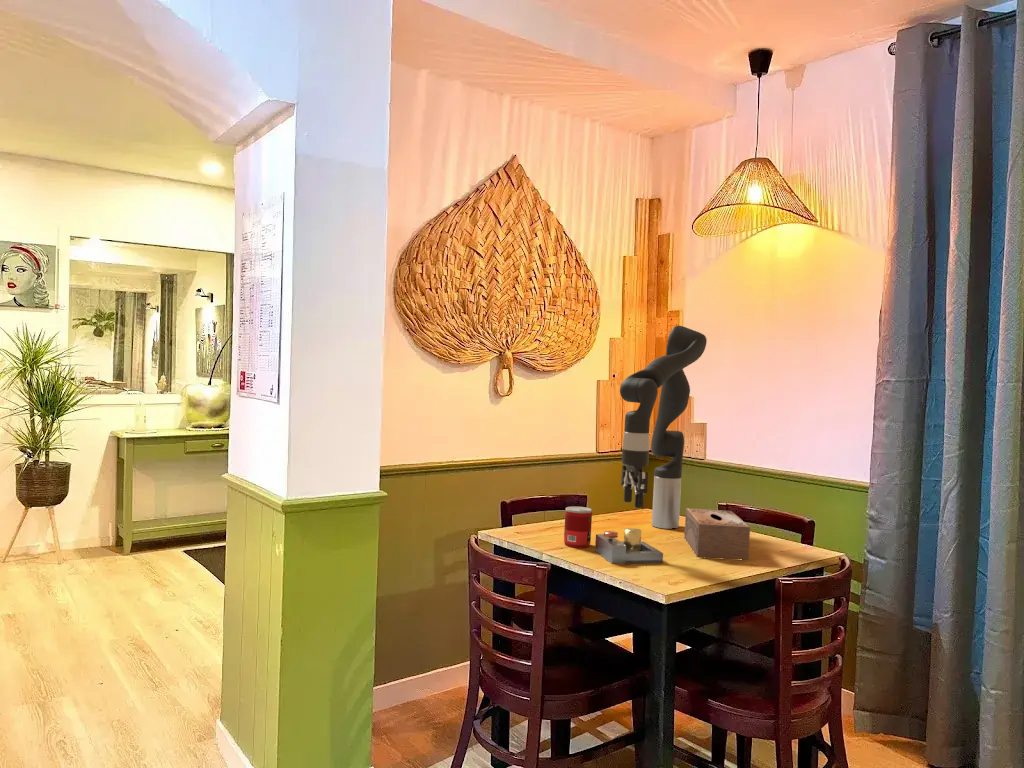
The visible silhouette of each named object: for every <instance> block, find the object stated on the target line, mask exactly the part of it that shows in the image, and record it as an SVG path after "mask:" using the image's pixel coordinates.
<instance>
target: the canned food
mask: <svg viewBox="0 0 1024 768" xmlns="http://www.w3.org/2000/svg"><path fill="white" fill-rule="evenodd" d="M592 517H593V509H592V508H589V507H585V506H567V507H565V511H564V531H563V532H564V533H563V542H564V545H565V546H567V547H568V548H569V547H570V548H577V549H578V548H579V549H583V548H589V547H590V545H591V538H592V525H593V523H592V521H593V518H592Z"/></svg>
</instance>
